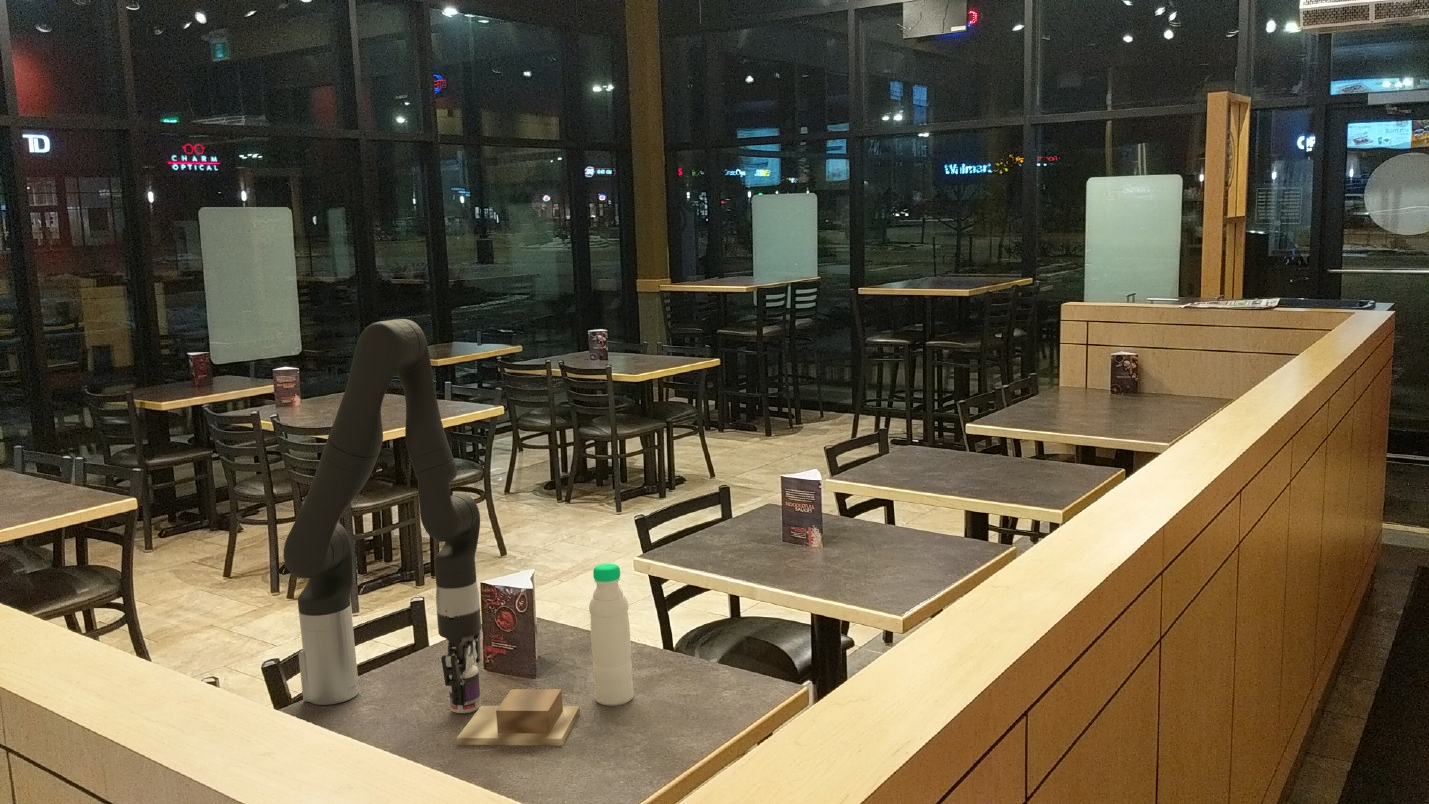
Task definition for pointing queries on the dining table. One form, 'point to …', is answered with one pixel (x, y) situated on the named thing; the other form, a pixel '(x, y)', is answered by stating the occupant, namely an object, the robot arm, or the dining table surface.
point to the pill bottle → (469, 689)
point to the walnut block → (529, 711)
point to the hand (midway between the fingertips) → (465, 697)
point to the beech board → (486, 733)
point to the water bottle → (610, 638)
